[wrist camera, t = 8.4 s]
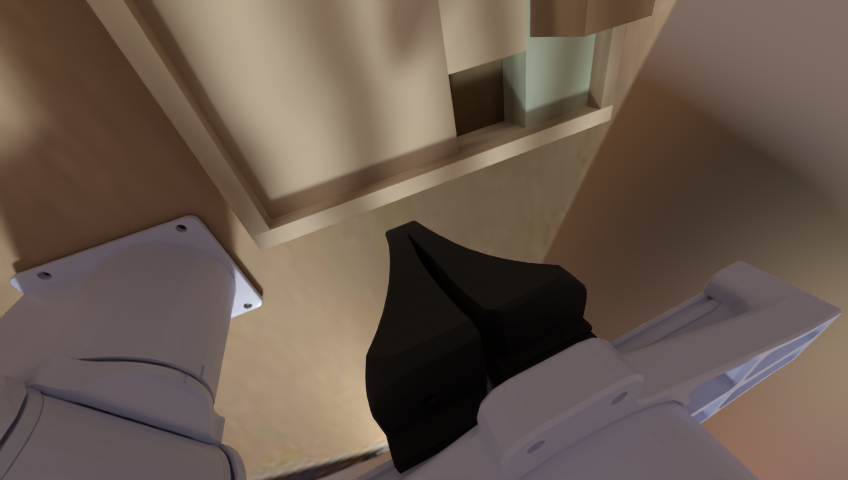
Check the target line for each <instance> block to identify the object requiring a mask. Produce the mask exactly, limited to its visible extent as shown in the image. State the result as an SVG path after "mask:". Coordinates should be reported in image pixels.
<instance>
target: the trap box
mask: <svg viewBox="0 0 848 480" xmlns="http://www.w3.org/2000/svg"><path fill="white" fill-rule="evenodd" d="M86 1H87V2H88V4H89V5H90V7H91V8H92V10H93V11H94V12H95V14H96V15H97V17H98V18H99V20H100V21H101V23H102V24H103V25H104V27H105V28H106V30H107V31H108V33H109V34H110V35H111V37H112V38H113V40H114V41H115V43H116V44H117V45H118V47H119V48H120V50H121V51H122V53H123V54H124V55H125V57H126V58H127V60H128V61H129V63H130V64H131V65H132V67H133V68H134V70H135V71H136V73H137V74H138V75H139V77H140V78H141V80H142V81H143V83H144V84H145V86H146V87H147V88H148V90H149V91H150V93H151V94H152V96H153V97H154V98H155V100H156V101H157V103H158V104H159V106H160V107H161V108H162V110H163V111H164V113H165V114H166V116H167V117H168V118H169V120H170V121H171V123H172V124H173V126H174V127H175V128H176V130H177V131H178V133H179V134H180V136H181V137H182V138H183V140H184V141H185V143H186V144H187V146H188V147H189V148H190V150H191V151H192V153H193V154H194V156H195V157H196V159H197V160H198V161H199V163H200V164H201V166H202V167H203V169H204V170H205V171H206V173H207V174H208V176H209V177H210V179H211V180H212V181H213V183H214V184H215V186H216V187H217V189H218V190H219V191H220V193H221V194H222V196H223V197H224V199H225V200H226V201H227V203H228V204H229V206H230V207H231V209H232V210H233V211H234V213H235V214H236V216H237V217H238V219H239V220H240V222H241V223H242V224H243V226H244V227H245V229H246V230H247V232H248V233H249V234H250V236H251V237H252V239H253V240H254V242H255V243H256V244H257V246H258V247H259V249H260V250H261V251H263V250H266V249H268V248H271V247H273V246H276V245H279V244H281V243H284V242H287V241H289V240H292V239H295V238H297V237H300V236H303V235H305V234H308V233H311V232H313V231H316V230H319V229H321V228H324V227H327V226H329V225H332V224H335V223H337V222H340V221H343V220H345V219H348V218H351V217H353V216H356V215H359V214H361V213H364V212H367V211H369V210H372V209H375V208H377V207H380V206H383V205H385V204H388V203H391V202H393V201H396V200H399V199H401V198H404V197H407V196H409V195H412V194H415V193H417V192H420V191H423V190H425V189H428V188H431V187H433V186H436V185H439V184H441V183H444V182H447V181H449V180H452V179H454V178H457V177H460V176H462V175H465V174H468V173H470V172H473V171H476V170H478V169H481V168H484V167H486V166H489V165H492V164H494V163H497V162H500V161H502V160H505V159H508V158H510V157H513V156H516V155H518V154H521V153H524V152H526V151H529V150H532V149H534V148H537V147H540V146H542V145H545V144H548V143H550V142H553V141H556V140H558V139H561V138H564V137H566V136H569V135H572V134H574V133H577V132H580V131H582V130H585V129H588V128H590V127H593V126H596V125H598V124H601V123H604V122H606V121H609V120H610V119H611V113H612V107H613V101H614V96H615V90H616V84H617V78H618V72H619V66H620V61H621V55H622V49H623V43H624V37H625V32H626V26H627V23H626V24H623V25H620V26H617V27H613V28H610V29H607V30H604V31H601V32H598V33H595V34H592V35H588V36H585V37H530V0H86ZM501 58H502V69H503V96H504V121H501V122H498V123H496V124H493V125H490V126H487V127H484V128H481V129H478V130H475V131H473V132H470V133H467V134H464V135H461V136H458V137H457V135H456V128H455V120H454V113H453V105H452V98H451V91H450V83H449V76H448V75H449V74H452V73H455V72H458V71H462V70H465V69H468V68H471V67H475V66H478V65H481V64H484V63H488V62H491V61H494V60H497V59H501Z"/></svg>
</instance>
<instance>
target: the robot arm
mask: <svg viewBox="0 0 848 480" xmlns="http://www.w3.org/2000/svg"><path fill="white" fill-rule="evenodd" d="M178 225H184V226H186V228H187V229H180V228H179V227H178ZM385 235H386V238H387V241H388V244H389V252H390V274H389V285H388V291H387V297H386V301H385V306H384V310H383V314H382V317H381V320H380V323H379V326H378V329H377V332H376V334H375V337H374V339H373V341H372V344H371V346H370V348H369V350H368V353H367V355H366V373H365V380H366V393H367V398H368V402H369V407H370V411H371V413H372V416H373V418H374V419H375V421H376V422H377V424H378V425H379V426H380V428H381V429H382V430H383V432H384V433H385V435H386V437H387V440H388V444H389V448H390V452H391V456H392V459H391V460H389V461H387V462H385V463H383V464H381V465H379V466H377V467H376V468H374V469H372V470H370V471H368V472H366V473H364V474H363V475H361V476H359V477H357V478H355V479H353V480H760V479H759V478H758V477H757V476H756V475H755V474H754V473H753V472H752V471H751V470H749V469H748V468H747V467H746V466H745V465H744V464H743V463H742V462H741V461H740V460H739V459H737V458H736V457H735V456H734V455H733V454H732V453H731V452H730V451H729V450H728V449H727V448H725V446H723V445H722V444H721V443H720V442H719V441H718V440H717V439H716V438H715V437H714V436H713V435H712V434H710V433H709V432H708V431H707V430H706V429H705V428H704V427H703V426H702V425H701V423H702V422H704V421H705V420H706V419H708V418H709V417H711V416H712V415H713V414H715V413H716V412H718V411H719V410H720V409H722V408H723V407H725V406H726V405H728V404H729V403H730V402H732V401H733V400H734V399H736V398H737V397H739V396H740V395H742V394H743V393H744V392H746V391H747V390H749V389H750V388H752V387H753V386H755V385H756V384H758V383H759V382H760V381H762V380H763V379H765V378H766V377H768V376H769V375H771V374H772V373H774V372H775V371H777V370H779V369H780V368H782V367H783V366H785V365H786V364H788V363H789V362H791V361H792V360H794V359H795V358H796V357H797V356H798V355H799V354H800V353H801V352H802V351H803V350H804V349H805V348H806V347H808V345H809V344H811V342H813V341H814V340H815V339H816V338H817V337H818V336H819V335H820V334H821V333H822V332H823V331H824V330H825V329H826V328H827V327H828V326H829V325H830V324H831V323H832V322H833V321H834V320H835V319H836V318H837V317H838V316H839V315H840V314H841V313H842V311H841V309H840V308H838V307H836V306H834V305H831V304H830V303H828V302H826V301H823V300H821V299H819V298H817V297H815V296H813V295H811V294H809V293H807V292H805V291H803V290H801V289H799V288H797V287H794V286H792V285H790V284H788V283H786V282H784V281H782V280H780V279H778V278H776V277H774V276H772V275H770V274H768V273H766V272H764V271H762V270H759V269H757V268H755V267H753V266H751V265H749V264H747V263H745V262H743V261H738V262H736V263H734V264H732V265H730V266H728V267H726V268H724V269H722V270H720V271H718V272H717V273H716V274H714V275H713V276H712V277H711V278H710V279H709V280H708V281H707V283H706V285H705V287H704V290H703V292H702V293H700V294H699V295H697V296H695V297H693V298H691V299H689V300H688V301H685V302H684V303H682V304H680V305H678V306H676V307H674V308H672V309H671V310H669V311H667V312H665V313H663V314H661V315H659V316H657V317H656V318H654V319H652V320H650V321H648V322H646V323H644V324H643V325H641V326H639V327H637V328H635V329H633V330H631V331H630V332H628V333H626V334H624V335H622V336H620V337H618V338H617V339H615V340H613V341H611V342H607V341H606V340H603V339H599V338H597V337H596V336H595V335H594V334H593V333H592V332H591V330H592V326H591V325H590V324H589V323H588V322H587V321H586V320H585V319H584V318H583V315H584V310H585V305H586V299H587V290H586V288H585V286H584V285H583V284H582V283H581V282H580V281H579V280H577V279H576V278H575V277H574V276H573V275H572V274H570V273H569V272H568V271H566V270H565V269H563V268H562V267H561V266H559V265H549V264H536V263H527V262H520V261H513V260H508V259H503V258H499V257H494V256H490V255H487V254H483V253H480V252H477V251H474V250H471V249H468V248H465V247H463V246H461V245H458V244H456V243H454V242H452V241H450V240H448V239H446V238H444V237H442V236H440V235H438V234H436V233H434V232H433V231H431V230H429V229H428V228H426V227H424V226H423V225H421V224H419V223H418V222H416V221H411V222H409V223H406V224H404V225H401V226H399V227H396V228H394V229H391V230H389V231H387V232H386V234H385ZM42 272H46V273H49V274H50V275H51V276H49V275H45V274H43V273H42ZM10 284H11V285H12V286H13V287H14V288H16V289H17V290H19V291H20V292H22V293H23V294H24V295H23V296H22V297H21V298H20V299H19V300H18V301H17V302H16V303H15V304H14V305H13V306H12V307H11V308H10V309H9V310H8V311H7V312H6V313H5V314H4V315H3V316H2V317H1V318H0V480H246V471H245V465H244V463H243V460H242V458H241V456H240V455H239V453H238V452H237V451H236V450H235V449H233V448H232V447H230V446H228V445H224V444H221V442H222V436H223V429H224V423H225V418H223V417H221V416H219V415H218V414H217V413H216V412H215V410H214V403H215V398H216V393H217V387H218V382H219V377H220V372H221V366H222V361H223V356H224V351H225V345H226V340H227V335H228V330H229V324H230V319H231V318H233V317H235V316H238V315H240V314H243V313H245V312H248V311H250V310H253V309H255V308H258V307H260V306H261V305H262V303H263V298H262V296H261V295H260V294H259V293H258V291H257V290H256V289H255V288H254V286H253V285H252V284H251V283H250V281H249V280H248V279H247V278H246V276H245V275H244V274H243V273H242V271H241V270H240V269H239V267H238V266H237V265H236V264H235V262H234V261H233V260H232V259H231V257H230V256H229V255H228V254H227V252H226V251H225V250H224V249H223V247H222V246H221V245H220V244H219V242H218V241H217V240H216V238H215V237H214V236H213V235H212V233H211V232H210V231H209V230H208V228H207V227H206V226H205V225H204V223H203V222H202V221H201V220H200V219H199V218H198V217H196V216H193V215H188V216H184V217H181V218H178V219H175V220H172V221H169V222H166V223H163V224H160V225H157V226H154V227H152V228H149V229H146V230H143V231H140V232H137V233H134V234H131V235H128V236H125V237H122V238H119V239H116V240H113V241H110V242H107V243H105V244H102V245H99V246H96V247H93V248H90V249H87V250H84V251H81V252H78V253H75V254H72V255H69V256H66V257H63V258H60V259H58V260H55V261H52V262H49V263H46V264H43V265H40V266H37V267H34V268H31V269H28V270H25V271H22V272H19V273H17V274H15V275H14V276H13V277H12V278H11V279H10ZM246 303H250V305H246Z"/></svg>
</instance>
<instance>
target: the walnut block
mask: <svg viewBox="0 0 848 480" xmlns="http://www.w3.org/2000/svg"><path fill="white" fill-rule="evenodd" d="M654 2H655V0H530V37H585V36H588V35H592V34H595V33H598V32H601V31H604V30H607V29H610V28H613V27H617V26H620V25H623V24H626V23H629V22H632V21H635V20H638V19H641V18H645V17H648V16H651V15H652V12H653V7H654Z"/></svg>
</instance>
